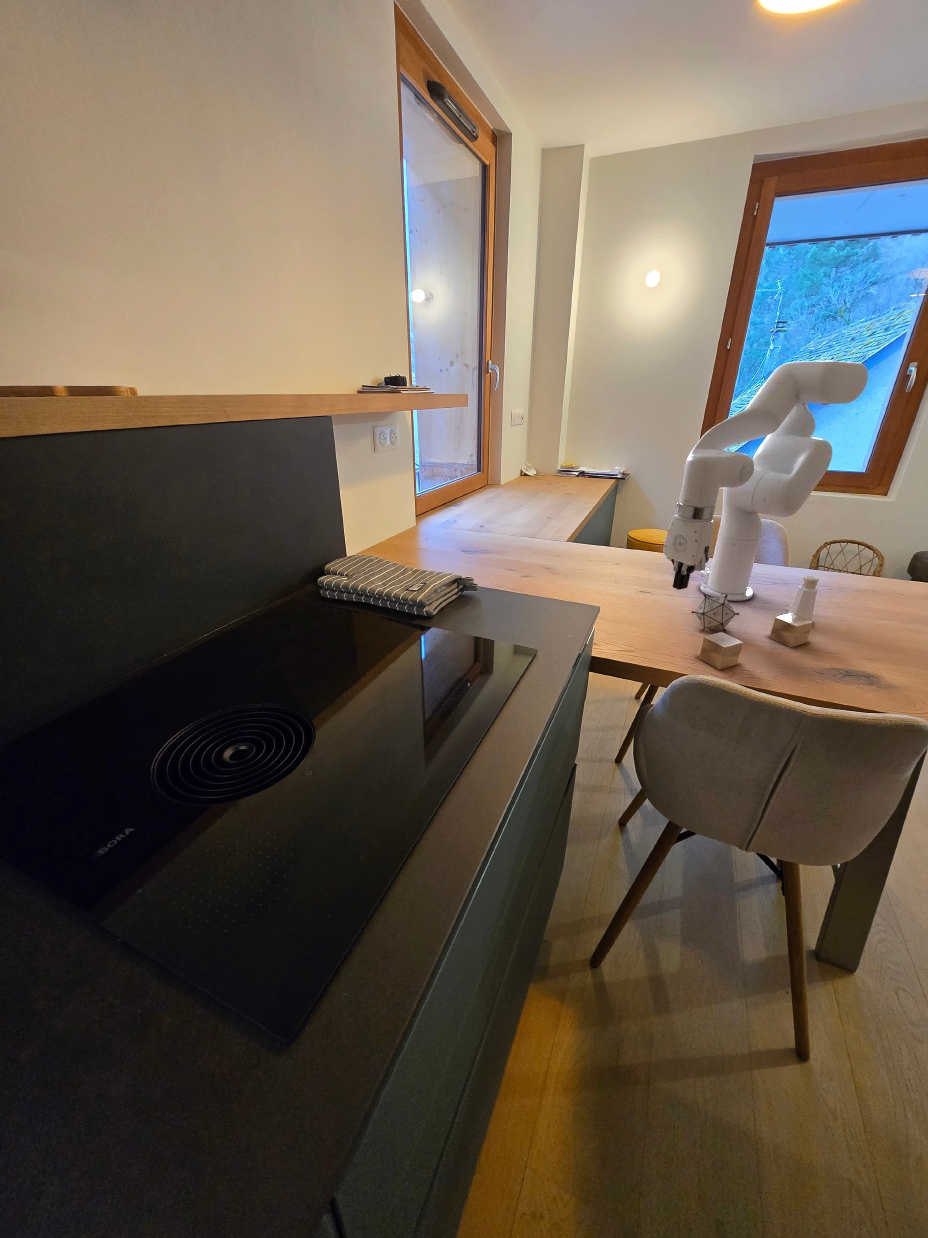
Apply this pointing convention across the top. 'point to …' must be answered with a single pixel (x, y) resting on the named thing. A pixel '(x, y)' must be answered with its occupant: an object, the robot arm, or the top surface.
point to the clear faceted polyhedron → (715, 613)
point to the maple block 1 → (720, 650)
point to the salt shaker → (805, 598)
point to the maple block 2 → (791, 629)
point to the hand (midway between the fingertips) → (679, 587)
